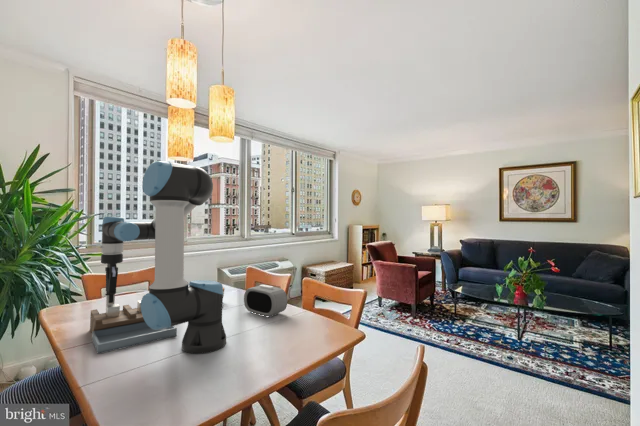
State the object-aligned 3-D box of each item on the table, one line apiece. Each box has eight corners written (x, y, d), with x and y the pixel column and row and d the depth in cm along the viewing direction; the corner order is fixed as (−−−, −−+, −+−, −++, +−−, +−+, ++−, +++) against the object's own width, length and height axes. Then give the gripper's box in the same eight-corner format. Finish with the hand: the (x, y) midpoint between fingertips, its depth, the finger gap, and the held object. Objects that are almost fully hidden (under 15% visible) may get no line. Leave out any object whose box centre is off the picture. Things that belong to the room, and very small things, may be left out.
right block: (150, 310, 128) (150, 301, 128) (139, 312, 126) (139, 303, 126) (147, 308, 131) (147, 299, 131) (137, 310, 129) (137, 301, 129)
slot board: (165, 327, 126) (166, 308, 126) (94, 342, 110) (95, 320, 110) (155, 318, 137) (156, 300, 137) (89, 330, 121) (90, 310, 121)
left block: (119, 316, 121) (119, 306, 121) (107, 318, 118) (107, 307, 118) (117, 313, 124) (117, 303, 124) (105, 315, 121) (106, 305, 121)
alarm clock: (242, 311, 150) (243, 284, 150) (256, 307, 158) (257, 281, 158) (273, 320, 139) (274, 291, 139) (287, 315, 147) (287, 287, 147)
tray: (176, 335, 118) (176, 328, 118) (97, 353, 101) (97, 344, 101) (164, 324, 129) (164, 317, 129) (91, 339, 112) (92, 331, 112)
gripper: (99, 252, 129) (96, 308, 128) (103, 255, 119) (101, 315, 119) (119, 251, 134) (117, 304, 133) (125, 254, 124) (123, 312, 124)
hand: (110, 309), depth 126 cm, fingers closed
